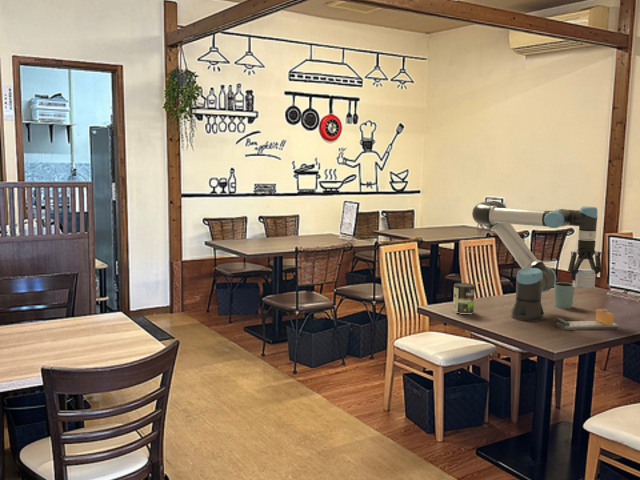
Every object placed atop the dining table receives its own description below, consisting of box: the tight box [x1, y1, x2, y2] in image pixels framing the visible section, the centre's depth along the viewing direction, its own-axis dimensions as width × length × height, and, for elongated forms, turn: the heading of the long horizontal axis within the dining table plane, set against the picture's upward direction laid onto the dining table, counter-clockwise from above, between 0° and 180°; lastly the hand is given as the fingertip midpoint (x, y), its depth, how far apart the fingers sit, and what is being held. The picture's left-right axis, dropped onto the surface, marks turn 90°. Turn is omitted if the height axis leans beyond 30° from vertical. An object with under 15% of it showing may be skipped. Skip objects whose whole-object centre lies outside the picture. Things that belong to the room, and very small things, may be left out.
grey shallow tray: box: [555, 317, 620, 331], centre depth 283 cm, size 26×9×3 cm, turn 96°
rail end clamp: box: [595, 308, 614, 325], centre depth 283 cm, size 3×9×6 cm, turn 6°
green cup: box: [553, 281, 576, 310], centre depth 320 cm, size 10×10×12 cm
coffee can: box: [452, 282, 476, 314], centre depth 308 cm, size 10×10×14 cm
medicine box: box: [576, 268, 595, 289], centre depth 293 cm, size 8×4×9 cm, turn 92°
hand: (583, 286), depth 293 cm, fingers closed on medicine box, 8 cm apart
